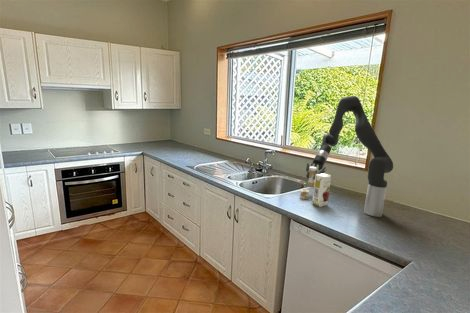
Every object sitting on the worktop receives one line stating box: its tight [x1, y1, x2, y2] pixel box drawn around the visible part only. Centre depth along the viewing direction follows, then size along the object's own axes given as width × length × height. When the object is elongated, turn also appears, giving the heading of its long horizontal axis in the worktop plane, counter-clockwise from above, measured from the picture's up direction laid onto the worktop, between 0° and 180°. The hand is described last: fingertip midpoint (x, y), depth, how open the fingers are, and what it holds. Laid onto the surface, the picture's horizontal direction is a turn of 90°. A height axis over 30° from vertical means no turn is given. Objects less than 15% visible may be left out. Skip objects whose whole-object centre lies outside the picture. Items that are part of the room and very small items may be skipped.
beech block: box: [299, 188, 310, 200], centre depth 171 cm, size 5×5×5 cm
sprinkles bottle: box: [307, 166, 317, 188], centre depth 175 cm, size 5×5×13 cm
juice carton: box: [311, 172, 332, 208], centre depth 160 cm, size 8×9×19 cm
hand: (310, 178), depth 174 cm, fingers closed on sprinkles bottle, 4 cm apart
